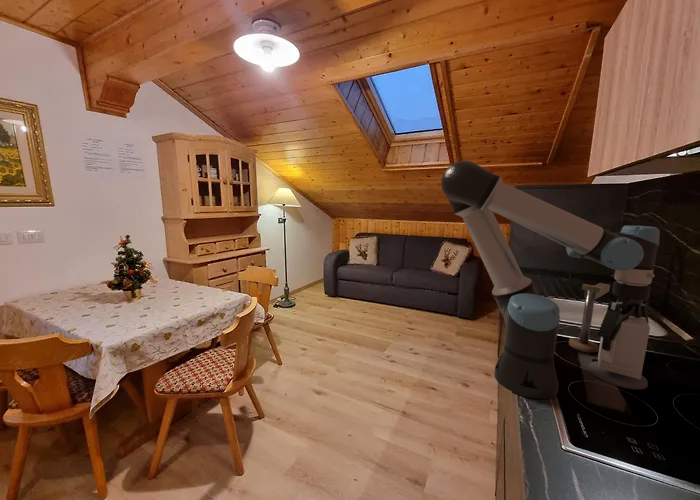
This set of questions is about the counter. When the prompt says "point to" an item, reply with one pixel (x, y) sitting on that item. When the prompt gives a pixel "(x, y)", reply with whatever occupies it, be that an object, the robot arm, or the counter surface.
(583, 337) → the swing latch
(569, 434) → the counter surface
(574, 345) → the disc
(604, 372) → the coaster
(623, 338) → the supplement box
